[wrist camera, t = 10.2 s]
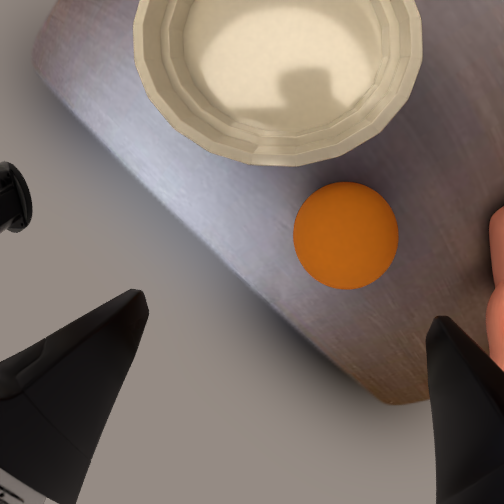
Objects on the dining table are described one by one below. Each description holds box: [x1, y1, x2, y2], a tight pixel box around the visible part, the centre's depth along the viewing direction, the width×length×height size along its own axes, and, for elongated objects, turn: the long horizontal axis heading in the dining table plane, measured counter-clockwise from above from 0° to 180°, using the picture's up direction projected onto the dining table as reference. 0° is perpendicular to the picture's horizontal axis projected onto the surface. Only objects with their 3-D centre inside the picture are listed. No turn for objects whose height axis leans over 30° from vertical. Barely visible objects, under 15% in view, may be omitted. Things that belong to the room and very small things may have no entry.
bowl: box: [133, 0, 423, 167], centre depth 13 cm, size 14×14×4 cm
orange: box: [293, 182, 398, 289], centre depth 17 cm, size 6×6×6 cm
